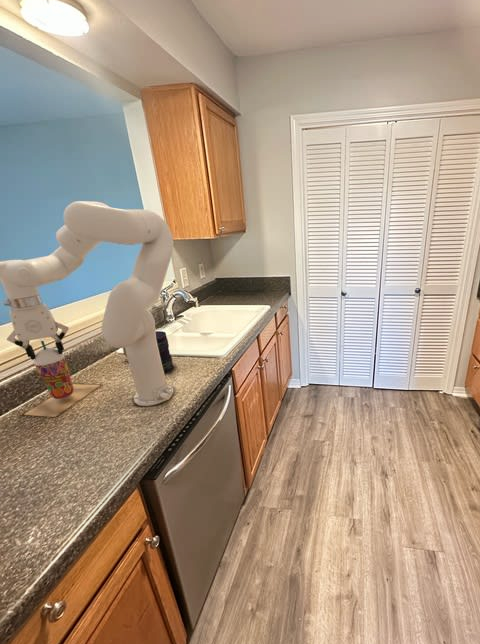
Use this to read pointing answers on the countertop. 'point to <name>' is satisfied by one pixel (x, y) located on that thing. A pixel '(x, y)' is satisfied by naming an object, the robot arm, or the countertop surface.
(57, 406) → the board
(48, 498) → the countertop surface
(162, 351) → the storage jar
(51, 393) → the smoothie
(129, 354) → the robot arm
